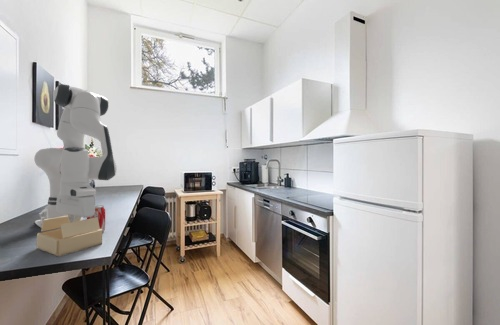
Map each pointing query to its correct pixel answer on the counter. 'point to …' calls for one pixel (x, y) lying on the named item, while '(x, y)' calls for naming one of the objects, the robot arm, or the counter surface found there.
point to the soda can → (99, 216)
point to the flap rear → (54, 223)
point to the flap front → (79, 227)
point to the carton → (67, 241)
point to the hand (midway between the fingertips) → (74, 226)
